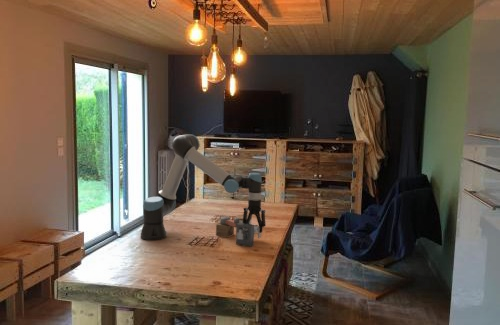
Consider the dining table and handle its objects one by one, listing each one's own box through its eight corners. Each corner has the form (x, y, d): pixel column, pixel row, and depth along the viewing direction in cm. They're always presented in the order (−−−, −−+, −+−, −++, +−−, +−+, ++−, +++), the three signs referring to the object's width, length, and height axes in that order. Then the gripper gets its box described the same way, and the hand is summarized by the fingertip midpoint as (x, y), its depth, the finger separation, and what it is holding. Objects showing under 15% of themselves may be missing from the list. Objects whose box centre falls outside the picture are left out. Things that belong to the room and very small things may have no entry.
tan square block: (227, 237, 270) (227, 226, 269) (216, 235, 274) (216, 224, 273) (233, 234, 277) (234, 223, 276) (222, 232, 281) (223, 221, 280)
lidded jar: (249, 231, 286) (250, 216, 285) (233, 229, 288) (233, 215, 287) (252, 226, 296) (253, 213, 295) (237, 225, 298) (237, 211, 297)
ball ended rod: (218, 223, 275) (218, 214, 274) (226, 221, 279) (226, 213, 278) (234, 228, 263) (234, 219, 262) (242, 227, 266) (242, 218, 266)
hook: (243, 240, 250) (243, 230, 249) (236, 239, 252) (236, 229, 251) (259, 232, 267) (259, 223, 267) (252, 231, 269) (253, 222, 269)
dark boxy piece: (250, 246, 253) (251, 226, 251) (235, 244, 257) (236, 224, 256) (253, 245, 256) (254, 224, 255) (239, 242, 261) (239, 222, 259)
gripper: (237, 198, 265) (236, 235, 267) (266, 202, 255) (265, 240, 258) (243, 196, 271) (242, 232, 274) (272, 200, 262) (271, 237, 265)
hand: (253, 236), depth 266 cm, fingers open, 7 cm apart
